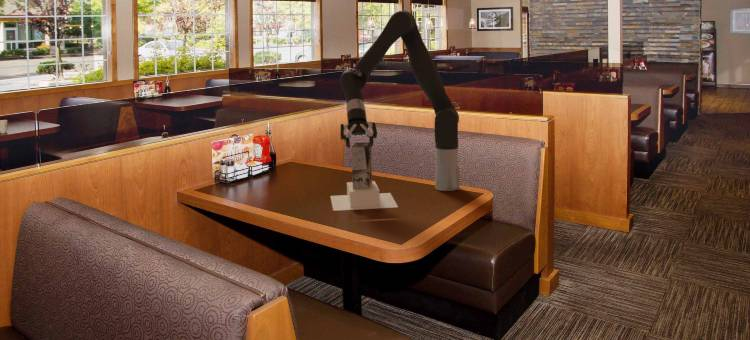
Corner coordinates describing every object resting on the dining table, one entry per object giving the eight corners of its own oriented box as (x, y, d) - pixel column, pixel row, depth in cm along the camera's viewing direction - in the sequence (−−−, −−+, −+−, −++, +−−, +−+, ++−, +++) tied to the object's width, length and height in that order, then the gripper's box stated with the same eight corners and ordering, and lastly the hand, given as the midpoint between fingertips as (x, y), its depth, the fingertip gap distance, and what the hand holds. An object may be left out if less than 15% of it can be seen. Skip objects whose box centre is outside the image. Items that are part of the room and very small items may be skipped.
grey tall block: (369, 189, 229) (368, 146, 225) (352, 189, 230) (350, 146, 226) (372, 183, 238) (371, 142, 234) (356, 182, 239) (355, 142, 235)
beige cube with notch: (375, 195, 242) (374, 180, 241) (379, 205, 229) (379, 190, 227) (347, 197, 241) (346, 182, 240) (350, 207, 228) (349, 191, 226)
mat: (390, 194, 246) (390, 192, 246) (398, 208, 227) (398, 207, 227) (330, 197, 243) (330, 195, 243) (333, 212, 224) (333, 210, 224)
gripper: (338, 108, 241) (342, 142, 232) (374, 106, 243) (379, 140, 234) (338, 119, 247) (341, 153, 239) (373, 118, 249) (377, 151, 240)
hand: (360, 146), depth 236 cm, fingers open, 8 cm apart
